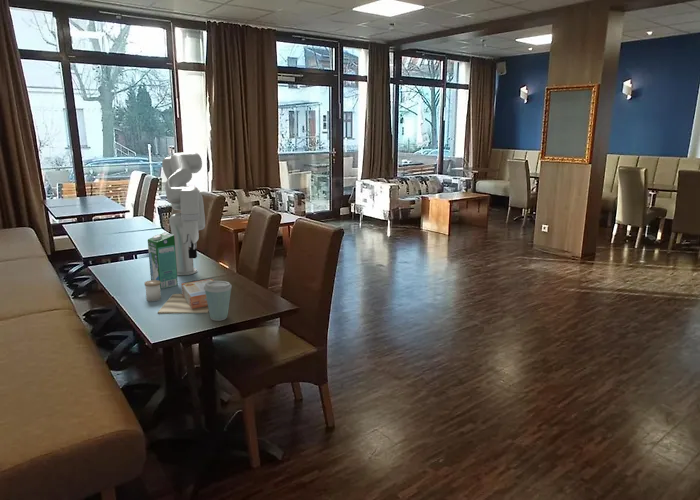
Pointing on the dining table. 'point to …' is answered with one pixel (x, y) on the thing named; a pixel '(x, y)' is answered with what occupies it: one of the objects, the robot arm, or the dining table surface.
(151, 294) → the tan and white mushroom
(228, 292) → the disposable coffee cup
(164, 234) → the milk carton
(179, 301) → the beech board
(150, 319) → the dining table surface
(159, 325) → the dining table surface
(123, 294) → the dining table surface
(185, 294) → the cracker box
